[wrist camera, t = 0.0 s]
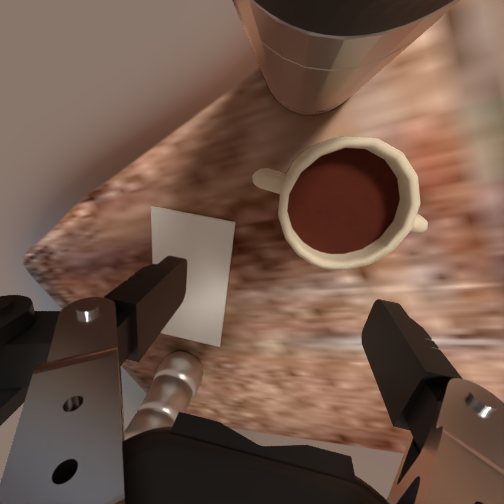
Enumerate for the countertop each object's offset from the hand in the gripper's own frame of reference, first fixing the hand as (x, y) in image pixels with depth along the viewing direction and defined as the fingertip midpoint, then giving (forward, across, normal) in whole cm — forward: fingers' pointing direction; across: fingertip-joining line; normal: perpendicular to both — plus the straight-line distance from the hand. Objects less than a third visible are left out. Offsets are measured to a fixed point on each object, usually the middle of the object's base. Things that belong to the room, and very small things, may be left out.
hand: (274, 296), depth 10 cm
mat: (+18, +10, +12) cm, 23 cm away
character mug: (+17, -3, -4) cm, 18 cm away
